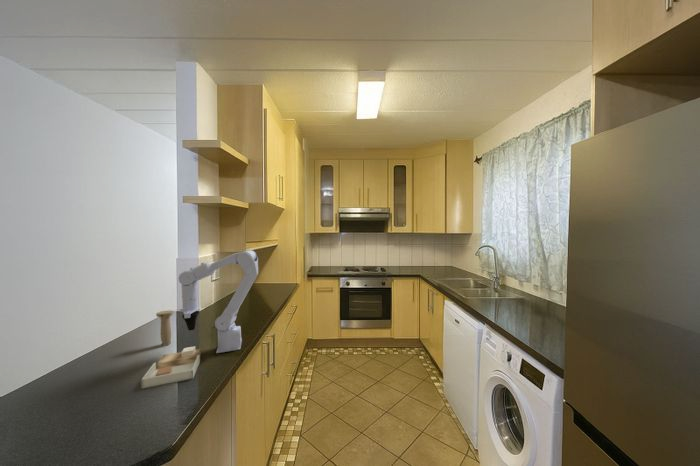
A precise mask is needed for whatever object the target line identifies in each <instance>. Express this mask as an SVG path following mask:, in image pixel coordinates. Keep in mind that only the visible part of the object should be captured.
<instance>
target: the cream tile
mask: <svg viewBox="0 0 700 466" xmlns="http://www.w3.org/2000/svg"><path fill="white" fill-rule="evenodd" d="M195 351H196V346H189V347H184V348H183V349H182V351H180V352H181V354H182V357H188V356H193V355H194V353H195Z"/></svg>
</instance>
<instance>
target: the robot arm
mask: <svg viewBox="0 0 700 466" xmlns="http://www.w3.org/2000/svg"><path fill="white" fill-rule="evenodd" d="M231 264H232V265H239V266H240V267H241V269H242V270H243V273H244V276H243V278H242V279H241V281H240V283H239V285H238V286H237V288H236V291H235V292H234V294H233V296H232V297H231V299H230V301H229V303H228V304H227V306H226V307H225V309H224V310H223V311H222V313H221V315H219V316H218V317H217V318H216V319H215V320H214V321H215V322H214V326H215V328H216V329H217V348H216V352H215V353H216V354H220V353H225V352H226V353H227V352H232V351H238V350H241V347H242V343H243V338H242V327H241V325H236V323H235V321H236V320H237V317H238V316H237V315H238V312H239V310H240V307H241V305H243V302H244V300H245V298H246V297H247V295H248V293H249V291H250V290H251V288H252V286H253V284H254V282H255V281H256V279H257V278H258V277H257V276H258V275H259V258H258V256H257V252H256V251H254V250H253V249H247V250H244V251H240V252H237V253H233V254H229V255H227V256H226V257H223V258H221V259H219V260H217V261H214V262H212V263H211V262H210V261H209V262H205V261H204V262H201V263H200V265H198V266H195V267H190V269H189V270H185V271H183V272H181V273H180V274H179V276H178V282H179V283H180V284H181V300H182V302H181V303H182V308H181V309H179V312H180V313H183V314H182V319H183V320H184V321H185V323H186V327H187V329H188V331H189V332H190V331H194V330H195V328H196V323H197V319H198V315H199V313H200V310H199V309H200V307H199V296H198V295H199V294H198V281H200V280H202V279H203V280H204V279H205V278H208V277H210V276H212V275H215V274H214V273H215V271H216V270H218V269H220V268H224V267H226V266H228V265H231Z"/></svg>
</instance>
